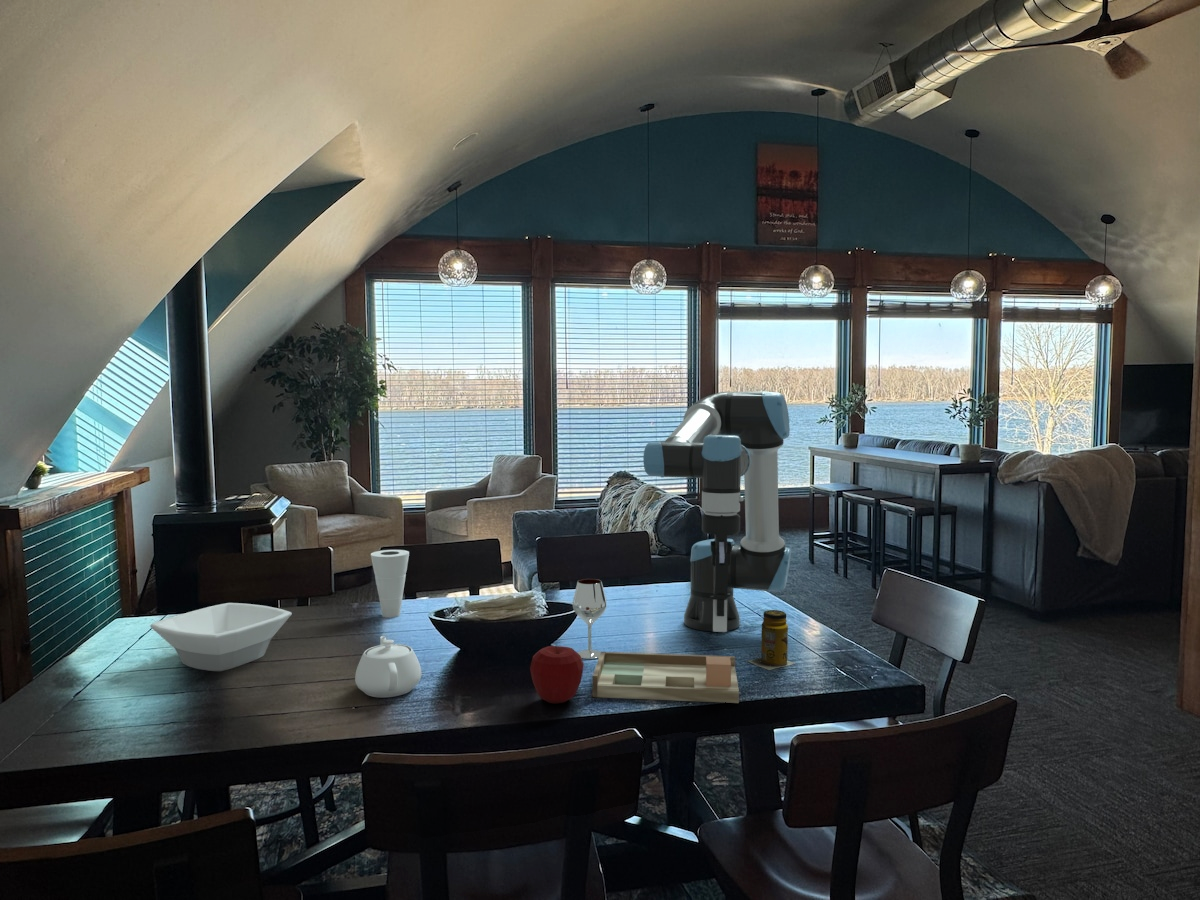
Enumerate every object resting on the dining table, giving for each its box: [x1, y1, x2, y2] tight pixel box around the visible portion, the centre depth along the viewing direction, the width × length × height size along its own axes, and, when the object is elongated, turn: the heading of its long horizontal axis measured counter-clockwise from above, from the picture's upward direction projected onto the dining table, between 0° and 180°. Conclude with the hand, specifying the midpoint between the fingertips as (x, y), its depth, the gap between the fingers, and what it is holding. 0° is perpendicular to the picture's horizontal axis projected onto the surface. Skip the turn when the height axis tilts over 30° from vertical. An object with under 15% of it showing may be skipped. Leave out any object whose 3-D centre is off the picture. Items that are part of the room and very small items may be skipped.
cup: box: [370, 549, 410, 619], centre depth 228 cm, size 11×11×18 cm
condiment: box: [747, 609, 796, 671], centre depth 187 cm, size 7×8×12 cm
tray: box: [592, 651, 740, 704], centre depth 172 cm, size 16×30×4 cm, turn 84°
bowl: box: [150, 602, 292, 672], centre depth 190 cm, size 24×25×10 cm
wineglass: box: [572, 578, 608, 660], centre depth 192 cm, size 8×8×18 cm
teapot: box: [354, 635, 422, 698], centre depth 170 cm, size 22×14×11 cm, turn 21°
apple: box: [529, 645, 585, 705], centre depth 163 cm, size 11×11×12 cm
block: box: [706, 656, 731, 686], centre depth 168 cm, size 5×5×4 cm
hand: (719, 630), depth 159 cm, fingers closed
